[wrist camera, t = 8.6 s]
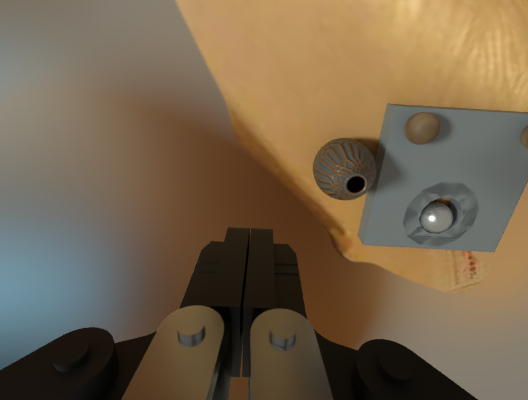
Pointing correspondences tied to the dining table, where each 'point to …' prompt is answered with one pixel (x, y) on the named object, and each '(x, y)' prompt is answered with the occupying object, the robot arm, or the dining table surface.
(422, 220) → the steel ball
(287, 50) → the dining table surface
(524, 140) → the walnut ball
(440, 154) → the hole plate
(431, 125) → the walnut ball
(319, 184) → the vase
